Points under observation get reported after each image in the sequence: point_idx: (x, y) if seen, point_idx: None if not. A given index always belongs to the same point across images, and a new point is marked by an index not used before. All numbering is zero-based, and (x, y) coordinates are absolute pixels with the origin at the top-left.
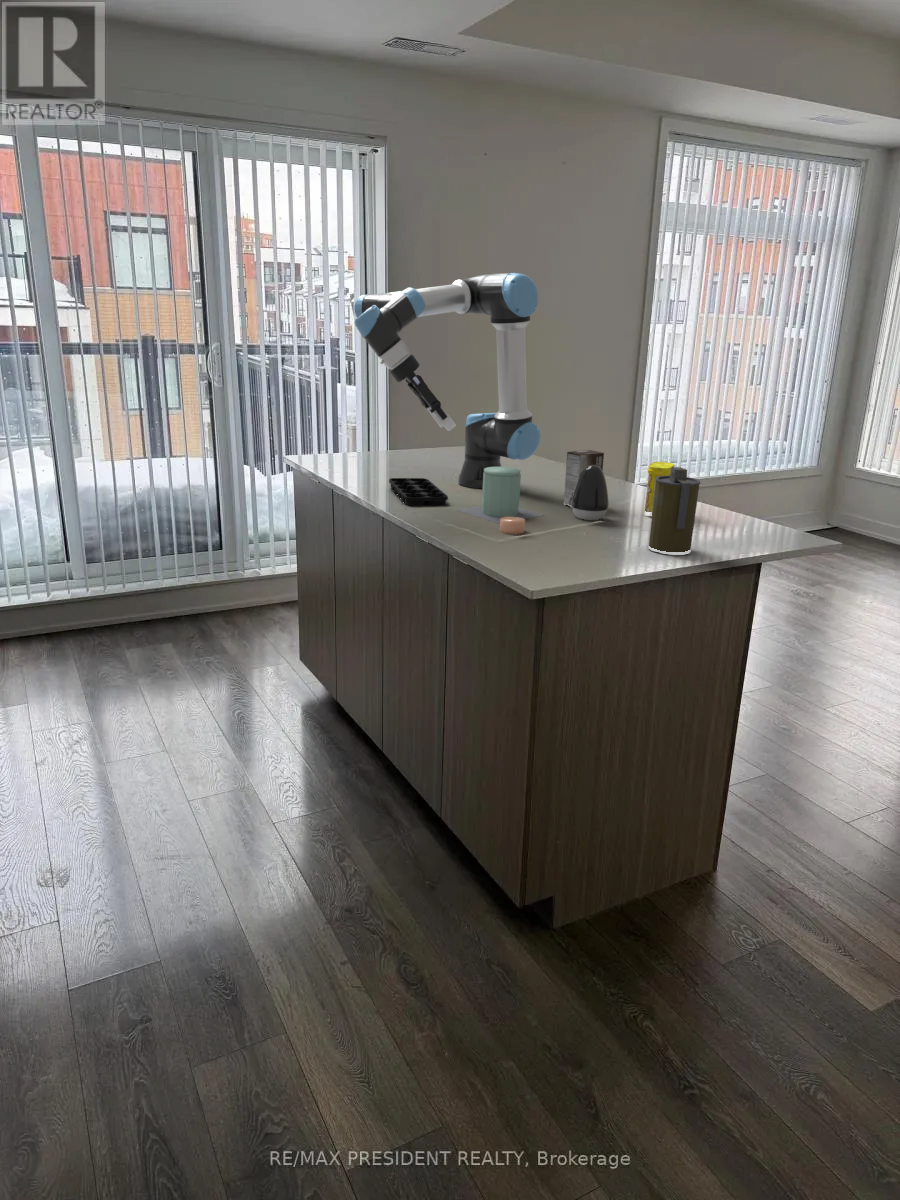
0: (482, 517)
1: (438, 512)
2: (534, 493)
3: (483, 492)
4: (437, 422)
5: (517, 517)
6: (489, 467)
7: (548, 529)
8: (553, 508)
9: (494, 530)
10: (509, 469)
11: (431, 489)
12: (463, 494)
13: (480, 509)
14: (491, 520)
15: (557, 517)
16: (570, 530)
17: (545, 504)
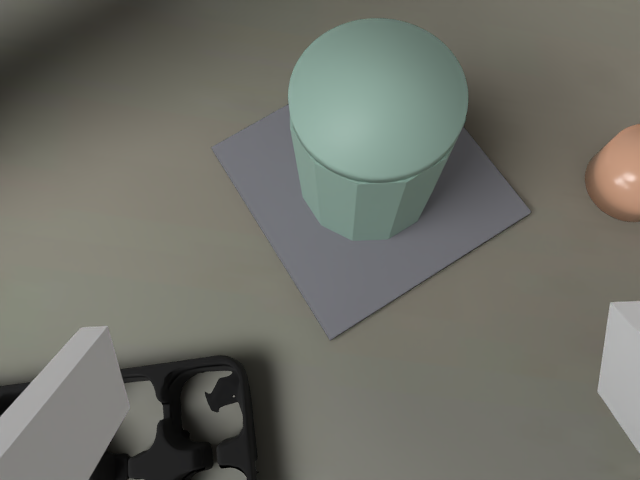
0: (450, 251)
1: (337, 408)
2: (34, 18)
3: (377, 215)
4: (98, 452)
5: (617, 142)
6: (313, 142)
7: (560, 67)
8: (267, 2)
9: (602, 234)
10: (362, 59)
11: (5, 406)
12: (18, 266)
13: (320, 240)
14: (493, 226)
15: (394, 14)
16: (563, 10)
17: (208, 15)
